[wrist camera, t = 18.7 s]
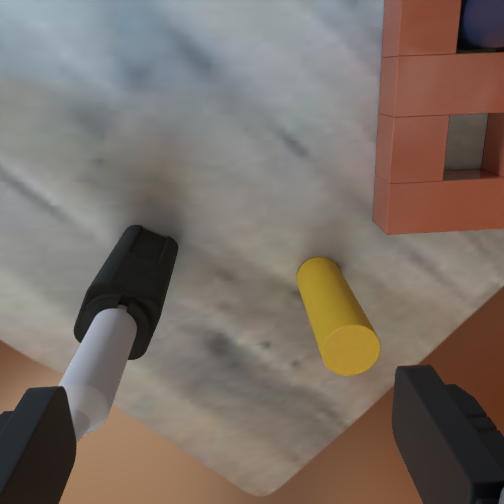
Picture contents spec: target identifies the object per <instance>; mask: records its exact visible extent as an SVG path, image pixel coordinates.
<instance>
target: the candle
mask: <svg viewBox="0 0 504 504" xmlns="http://www.w3.org/2000/svg"><path fill="white" fill-rule="evenodd" d="M177 252H178V245H177V243H176V241H175V240H174V239H172V238H171V237H167V238H166V237H163V236H160V235H158V234H155V233H153V232H150V231H147V230H145V229H143V227H142V226H139V225H133V226H130V227H128V228H127V229H126V230H125V232H124V233H123V235H122V236H121V238H120V240H119V241H118V243H117V244H116V246H115V247H114V249H113V251H112V252H111V254H110V255H109V257H108V258H107V260H106V262H105V263H104V265H103V266H102V268H101V269H100V271H99V273H98V274H97V276H96V277H95V279H94V280H93V282H92V284H91V285H90V287H89V288H88V290H87V292H86V295H85V297H84V300H83V303H82V306H81V309H80V312H79V314H78V317H77V320H76V323H75V326H74V335H75V338H76V339H77V341H78V342H79V343H81V344H80V346H79V348H78V350H77V352H76V353H75V355H74V357H73V359H72V361H71V363H70V365H69V367H68V368H67V370H66V372H65V374H64V376H63V378H62V380H61V382H60V384H59V385H58V386H63V387H64V388H65V390H66V393H67V397H68V402H69V407H70V411H71V416H72V421H73V426H74V430H75V435H76V443H77V442H78V441H79V440H80V439H81V438H82V437H83V436H84V435H85V434H87V433H89V432H91V431H93V430H95V429H97V428H99V427H100V426H101V425H102V424H103V423H104V422H105V420H106V419H107V417H108V415H109V412H110V409H111V406H112V403H113V400H114V397H115V395H116V392H117V389H118V386H119V383H120V380H121V377H122V374H123V371H124V368H125V365H126V362H127V360H135V359H138V358H140V357H141V356H143V355H144V354H145V352H146V350H147V348H148V345H149V343H150V341H151V338H152V336H153V333H154V331H155V329H156V326H157V324H158V321H159V319H160V316H161V312H162V308H163V305H164V301H165V297H166V293H167V290H168V286H169V282H170V279H171V275H172V271H173V267H174V264H175V260H176V256H177Z"/></svg>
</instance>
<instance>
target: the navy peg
mask: <svg viewBox="0 0 504 504" xmlns="http://www.w3.org/2000/svg"><path fill="white" fill-rule="evenodd" d="M497 47H504V0H462V1H461V10H460V20H459V29H458V39H457V49H460V50H474V49H486V48H497Z"/></svg>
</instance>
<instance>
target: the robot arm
mask: <svg viewBox="0 0 504 504" xmlns="http://www.w3.org/2000/svg"><path fill="white" fill-rule="evenodd" d="M392 428H393V434H394V438H395V442H396V444H397V447H398V449H399V451H400V453H401V456H402V458H403V460H404V462H405V464H406V466H407V469H408V471H409V473H410V475H411V477H412V479H413V482H414V484H415V486H416V488H417V491H418V493H419V495H420V497H421V499H422V502H423V504H504V436H503V435H502V434H501V432H500V431H499V430H498V431H497V429H496V426H495V424H494V423H493V422H492V421H491V419H490V418H489V417H487V416H486V413H485V411H484V410H483V409H482V407H481V406H480V405H479V403H478V402H477V401H476V400H475V398H474V397H473V396H471V395H470V394H468V393H467V392H466V391H464V390H462V389H461V388H460V387H458V386H457V385H455V384H449V385H445V384H444V383H443V381H442V380H441V378H440V377H439V376H438V374H437V373H436V371H435V370H434V368H433V367H432V366H431V365H429V364H428V365H410V366H398V367H397V369H396V373H395V385H394V398H393V409H392ZM75 456H76V435H75V430H74V426H73V421H72V416H71V411H70V407H69V402H68V397H67V393H66V390H65V388H64V387H63V386H54V387H39V388H38V387H37V388H29V389H28V390H27V391H26V392H25V394H24V395H23V397H22V398H21V400H20V402H19V403H18V405H17V406H16V408H15V410H14V411H4V412H3V413H2V414H1V415H0V504H59V501H60V499H61V496H62V494H63V491H64V489H65V486H66V483H67V480H68V478H69V476H70V473H71V470H72V468H73V465H74V461H75Z"/></svg>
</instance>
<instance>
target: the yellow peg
mask: <svg viewBox="0 0 504 504" xmlns="http://www.w3.org/2000/svg"><path fill="white" fill-rule="evenodd" d="M297 284H298V287H299V290H300V293H301V296H302V299H303V302H304V305H305V308H306V311H307V314H308V317H309V320H310V323H311V326H312V329H313V332H314V335H315V338H316V341H317V344H318V347H319V350H320V353H321V356H322V359H323V361H324V363H325V365H326V366H327V367H328V368H329V369H330V370H331V371H333V372H335V373H337V374H340V375H345V376H351V375H357V374H360V373H363V372H365V371H366V370H368V369H369V368H371V367H372V366H373V365H374V363H375V362H376V361H377V359H378V357H379V354H380V349H381V347H380V341H379V338H378V336H377V334H376V333H375V331H374V329H373V327H372V326H371V324H370V322H369V320H368V319H367V317H366V315H365V313H364V312H363V310H362V308H361V306H360V305H359V303H358V301H357V299H356V298H355V296H354V294H353V292H352V291H351V289H350V287H349V285H348V284H347V282H346V280H345V278H344V277H343V275H342V273H341V271H340V270H339V268H338V266H337V265H336V264H335V262H333V261H332V260H330V259H328V258H325V257H315V258H312V259H309V260H307V261H306V262H305V263H303V264H302V266H301V267H300V268H299V270H298V273H297Z"/></svg>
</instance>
